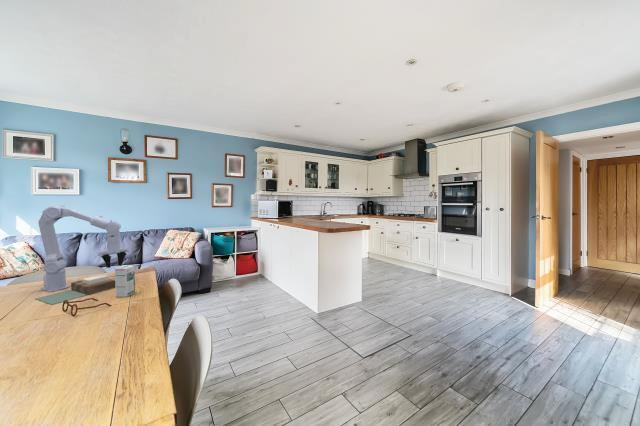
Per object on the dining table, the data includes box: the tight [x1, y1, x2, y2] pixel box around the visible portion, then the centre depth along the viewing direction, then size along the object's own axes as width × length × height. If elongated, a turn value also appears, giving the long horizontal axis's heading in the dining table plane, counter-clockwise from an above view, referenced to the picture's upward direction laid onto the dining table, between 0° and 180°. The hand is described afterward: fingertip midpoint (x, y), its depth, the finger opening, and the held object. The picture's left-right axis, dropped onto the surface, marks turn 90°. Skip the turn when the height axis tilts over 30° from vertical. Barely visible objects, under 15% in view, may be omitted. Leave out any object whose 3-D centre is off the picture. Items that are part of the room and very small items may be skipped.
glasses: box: [61, 297, 113, 317], centre depth 114 cm, size 13×13×5 cm
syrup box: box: [114, 264, 136, 298], centre depth 129 cm, size 6×6×14 cm
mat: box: [34, 289, 88, 306], centre depth 125 cm, size 16×13×1 cm
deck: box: [70, 278, 116, 296], centre depth 137 cm, size 16×12×4 cm
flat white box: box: [81, 274, 110, 284], centre depth 138 cm, size 6×9×2 cm, turn 157°
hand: (114, 266), depth 148 cm, fingers open, 5 cm apart
